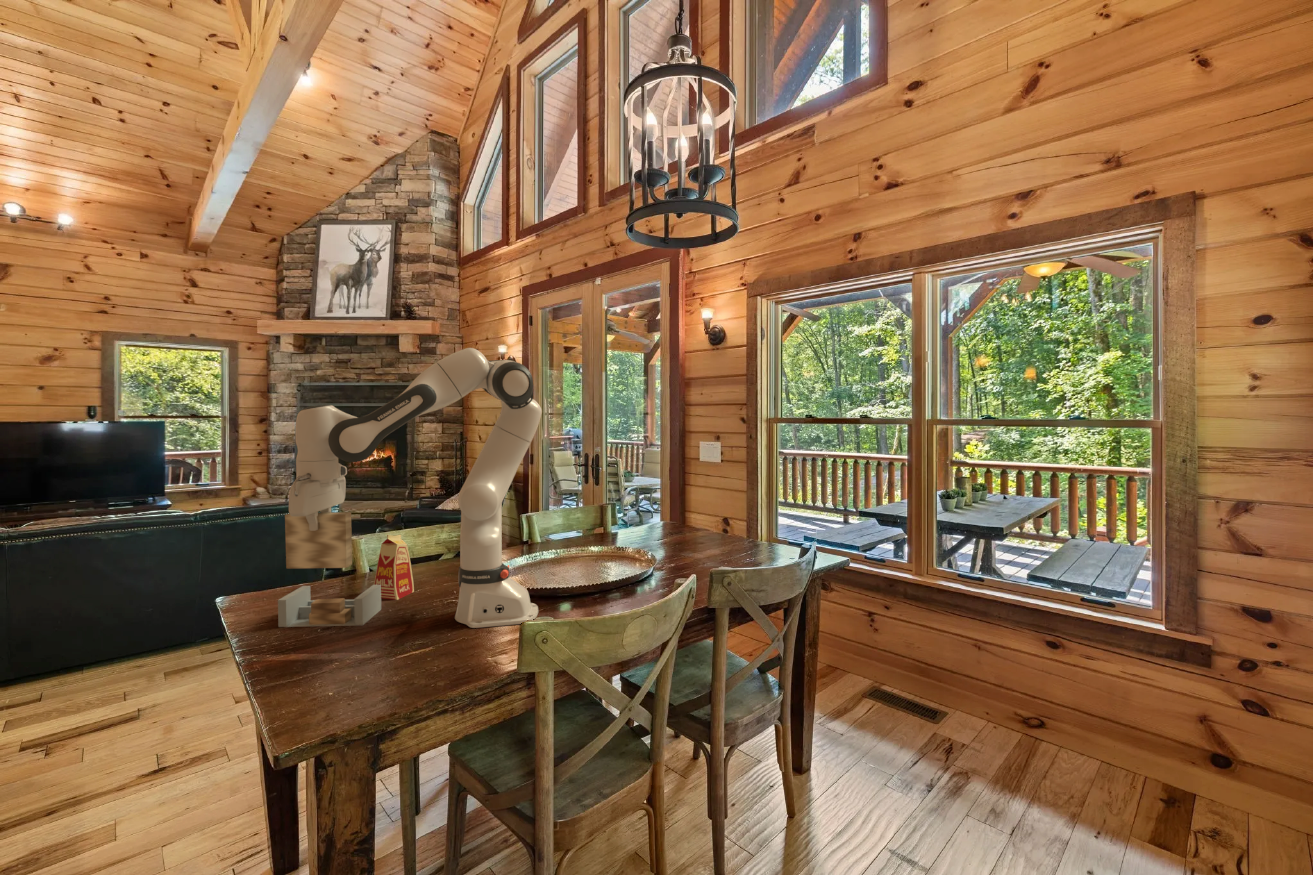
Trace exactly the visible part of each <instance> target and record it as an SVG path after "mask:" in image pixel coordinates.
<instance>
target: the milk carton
mask: <svg viewBox="0 0 1313 875" xmlns="http://www.w3.org/2000/svg"><path fill="white" fill-rule="evenodd" d="M380 544H381V546H380V550H379V556H378V560H377V566H376V570H375V571H376V572H375V578H374V583H373V585H381V600H382V599H383V600H392V601H393V600H395V601H398V600H400V599H402V598H404V597H406V596H408V595H410V594H412V593H414V592H415V587H414V578H413V571H412V563H411V558H410V552H409V547H408V544H407V542H405V541H404V540H403V539H402V534H397V535H392V534H386V539H385V540H383V541H382V543H380Z"/></svg>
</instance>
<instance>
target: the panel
mask: <svg viewBox="0 0 1313 875" xmlns="http://www.w3.org/2000/svg"><path fill="white" fill-rule="evenodd" d="M317 520H318V522H320V528H319V529H318V530H316V531H310V530H309V523H308V521H307V519H306V516H291V515H290V513H287V514H284V525H285V526H284V527H285V528H284V530H285V531H284V532H285V534H284V535H285V557H286V558H285V565H286V566H285V567H286V569H287V570H289V569H346V568H349V567H350V566H352V565H353V545H352V544H353V540H352V539H353V538H352V536H353V535H352V533H353V532H352V512H351V511H350V512H349V511H348V512H344V511H343V512H332V511H331V512H330V513H321V512H318V516H317Z"/></svg>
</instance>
